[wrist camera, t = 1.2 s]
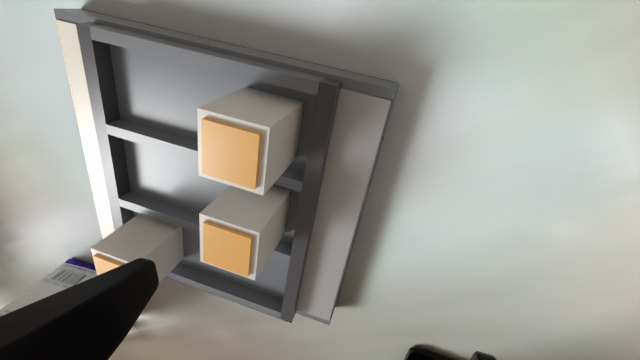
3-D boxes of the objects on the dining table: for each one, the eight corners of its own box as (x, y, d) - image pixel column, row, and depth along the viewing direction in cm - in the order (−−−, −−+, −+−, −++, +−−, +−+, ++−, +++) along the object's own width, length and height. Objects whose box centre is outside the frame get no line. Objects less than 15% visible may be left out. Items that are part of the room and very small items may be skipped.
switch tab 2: (303, 101, 15) (267, 129, 12) (295, 158, 17) (261, 198, 13) (245, 86, 16) (194, 109, 12) (242, 143, 17) (195, 177, 14)
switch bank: (398, 83, 15) (395, 94, 13) (334, 307, 23) (325, 337, 21) (79, 8, 18) (34, 8, 16) (119, 231, 26) (92, 251, 24)
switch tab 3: (291, 190, 18) (257, 235, 14) (284, 233, 19) (253, 283, 16) (241, 175, 18) (196, 215, 15) (238, 218, 20) (197, 263, 16)
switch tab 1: (182, 224, 21) (133, 267, 18) (183, 257, 23) (139, 303, 19) (142, 211, 22) (87, 250, 18) (146, 244, 23) (96, 287, 20)
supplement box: (87, 302, 33) (-57, 427, 23) (69, 256, 30) (-104, 377, 20) (136, 317, 31) (6, 457, 22) (122, 272, 29) (-35, 408, 19)
